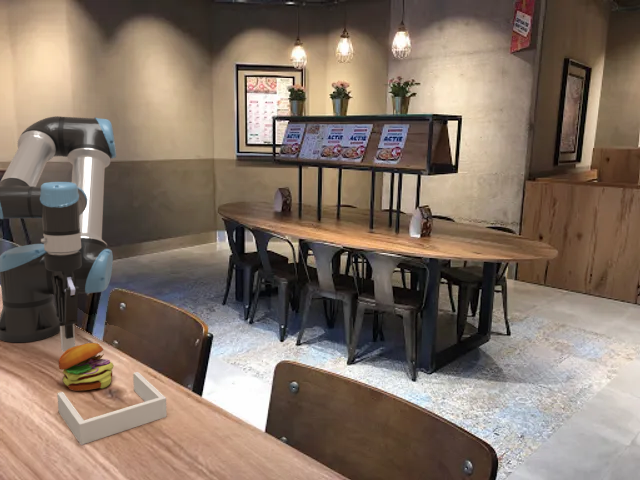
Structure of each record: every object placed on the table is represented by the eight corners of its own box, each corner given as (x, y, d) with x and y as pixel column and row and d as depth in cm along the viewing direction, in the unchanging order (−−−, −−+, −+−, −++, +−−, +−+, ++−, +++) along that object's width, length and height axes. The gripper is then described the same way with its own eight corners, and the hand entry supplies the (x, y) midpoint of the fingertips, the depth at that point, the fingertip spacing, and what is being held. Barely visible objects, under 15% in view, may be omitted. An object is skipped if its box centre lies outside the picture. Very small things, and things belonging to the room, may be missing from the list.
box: (58, 411, 104) (57, 393, 103) (138, 388, 114) (137, 371, 114) (80, 445, 94) (79, 424, 93) (166, 416, 104) (166, 398, 103)
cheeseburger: (92, 398, 110) (80, 352, 108) (54, 399, 114) (42, 355, 112) (125, 377, 119) (114, 334, 118) (89, 378, 123) (78, 337, 122)
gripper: (37, 247, 122) (43, 344, 127) (52, 259, 112) (59, 363, 117) (71, 244, 127) (76, 337, 132) (89, 255, 117) (94, 355, 122)
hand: (68, 349), depth 124 cm, fingers closed
